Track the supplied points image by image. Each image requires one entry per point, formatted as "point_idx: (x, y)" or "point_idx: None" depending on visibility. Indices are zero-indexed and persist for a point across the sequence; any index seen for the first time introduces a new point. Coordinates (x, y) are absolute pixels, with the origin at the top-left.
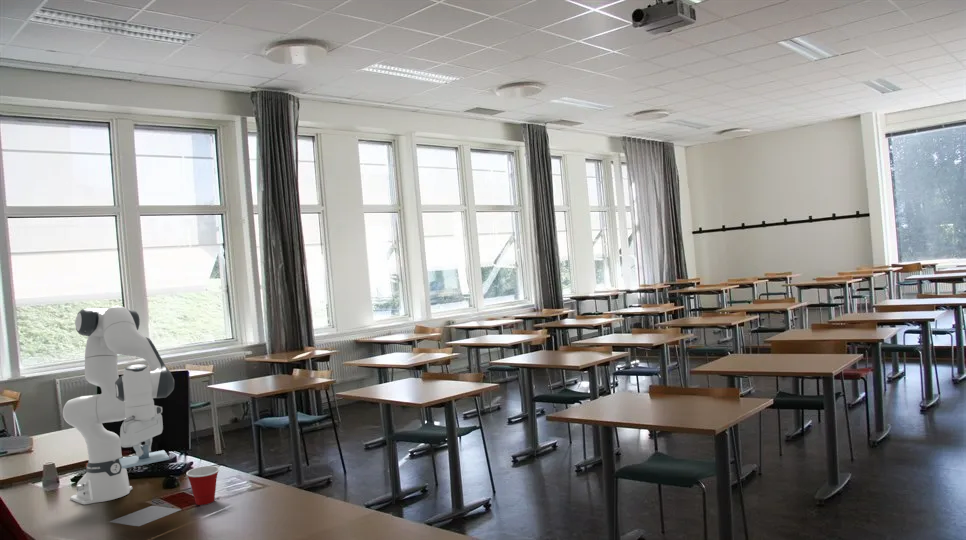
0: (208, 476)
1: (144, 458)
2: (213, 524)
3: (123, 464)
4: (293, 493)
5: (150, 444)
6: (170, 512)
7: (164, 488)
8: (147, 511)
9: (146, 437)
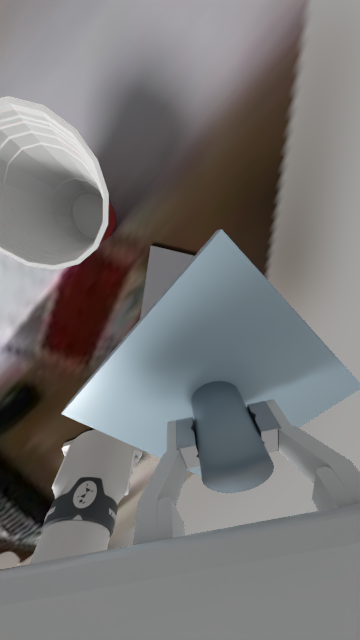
0: (62, 132)
1: (234, 386)
2: (250, 12)
3: (326, 404)
4: None
5: (168, 466)
6: (171, 261)
7: (41, 398)
8: None
9: (299, 567)
